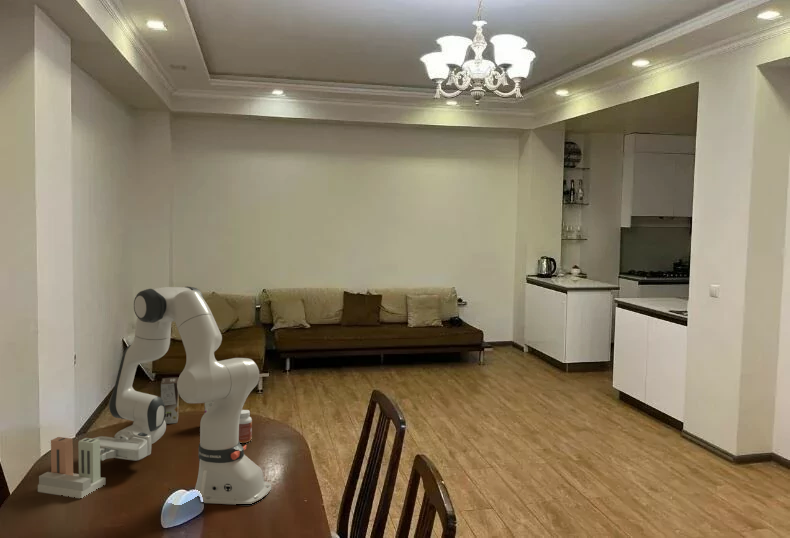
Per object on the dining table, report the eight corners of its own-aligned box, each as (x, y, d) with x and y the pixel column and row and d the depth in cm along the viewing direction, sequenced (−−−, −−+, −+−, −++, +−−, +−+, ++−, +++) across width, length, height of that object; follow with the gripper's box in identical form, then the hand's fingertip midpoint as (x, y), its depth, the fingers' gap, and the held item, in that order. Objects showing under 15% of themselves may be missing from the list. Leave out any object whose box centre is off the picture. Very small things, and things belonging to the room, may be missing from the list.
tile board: (105, 484, 188) (105, 469, 188) (81, 498, 179) (81, 483, 178) (63, 478, 192) (63, 463, 192) (37, 491, 182) (37, 476, 182)
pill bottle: (254, 442, 226) (254, 412, 225) (237, 445, 223) (237, 415, 222) (248, 437, 231) (248, 408, 230) (231, 440, 228) (232, 410, 227)
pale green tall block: (100, 478, 188) (99, 439, 187) (92, 482, 184) (92, 443, 183) (86, 476, 189) (85, 437, 188) (78, 480, 186) (77, 441, 185)
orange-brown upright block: (73, 477, 188) (72, 438, 187) (65, 481, 185) (64, 442, 184) (59, 475, 189) (58, 436, 188) (51, 479, 186) (50, 440, 185)
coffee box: (178, 423, 244) (178, 382, 243) (160, 424, 242) (160, 383, 241) (178, 415, 253) (178, 376, 251) (161, 416, 251) (161, 377, 249)
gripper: (100, 429, 205) (69, 443, 192) (155, 435, 201) (126, 451, 187) (100, 447, 206) (69, 463, 193) (155, 454, 201) (127, 471, 188)
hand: (98, 457), depth 190 cm, fingers closed
